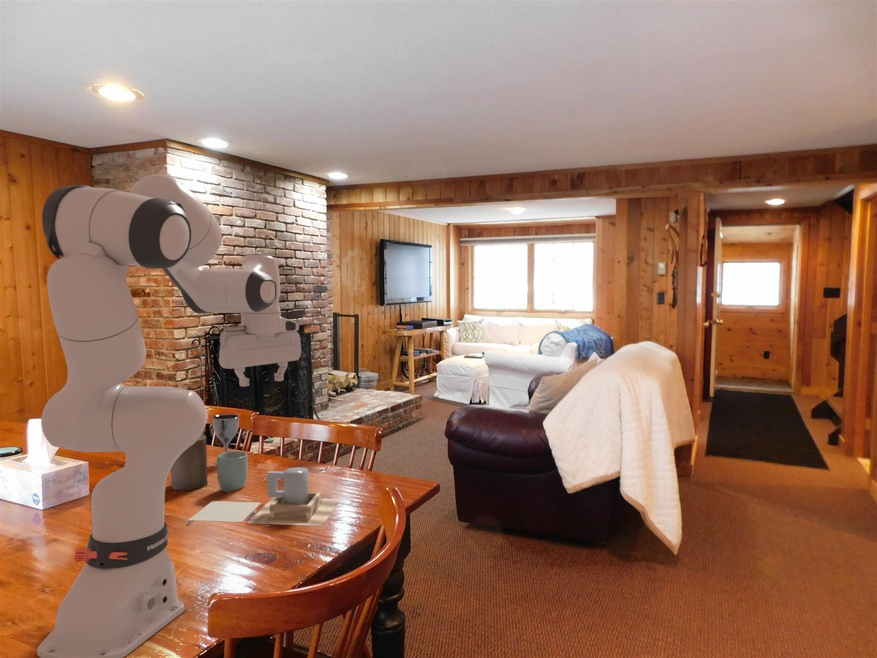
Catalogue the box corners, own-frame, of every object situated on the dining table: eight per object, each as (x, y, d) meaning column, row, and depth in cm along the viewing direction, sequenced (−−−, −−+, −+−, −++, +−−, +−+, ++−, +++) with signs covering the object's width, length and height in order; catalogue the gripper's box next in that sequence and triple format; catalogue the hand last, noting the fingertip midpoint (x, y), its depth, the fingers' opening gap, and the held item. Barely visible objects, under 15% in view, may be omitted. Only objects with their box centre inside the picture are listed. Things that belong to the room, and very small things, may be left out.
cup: (238, 495, 161) (237, 459, 160) (212, 493, 163) (211, 457, 162) (252, 486, 169) (252, 452, 168) (227, 484, 170) (227, 450, 170)
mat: (241, 526, 140) (241, 522, 140) (188, 524, 141) (188, 520, 141) (261, 506, 153) (261, 502, 153) (212, 504, 154) (212, 500, 154)
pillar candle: (213, 480, 174) (212, 429, 173) (197, 491, 164) (195, 437, 163) (182, 479, 175) (180, 429, 174) (163, 490, 165) (162, 436, 164)
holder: (322, 530, 139) (322, 513, 138) (247, 527, 140) (246, 510, 139) (340, 502, 156) (340, 487, 156) (273, 500, 158) (273, 485, 157)
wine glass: (212, 460, 194) (211, 414, 193) (237, 457, 198) (237, 413, 197) (214, 467, 187) (213, 419, 186) (240, 464, 190) (240, 417, 189)
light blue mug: (304, 515, 145) (304, 474, 144) (264, 513, 146) (264, 473, 145) (311, 506, 151) (311, 467, 150) (272, 505, 151) (272, 466, 151)
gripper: (228, 328, 129) (229, 391, 130) (304, 323, 144) (305, 379, 146) (212, 326, 133) (214, 387, 134) (288, 321, 148) (289, 376, 150)
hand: (262, 383), depth 140 cm, fingers open, 8 cm apart
